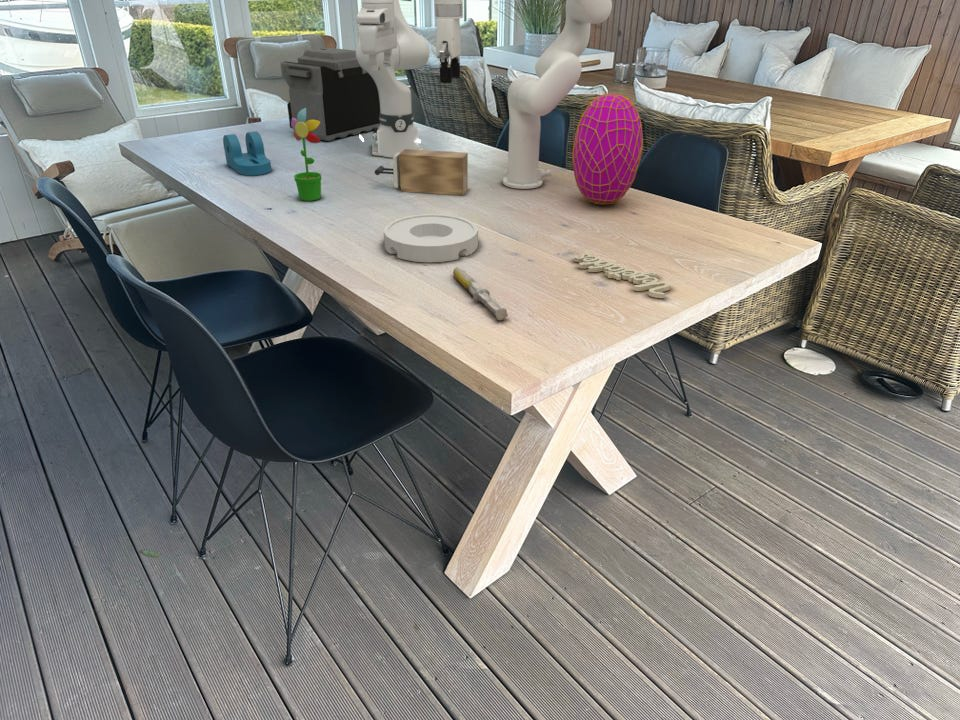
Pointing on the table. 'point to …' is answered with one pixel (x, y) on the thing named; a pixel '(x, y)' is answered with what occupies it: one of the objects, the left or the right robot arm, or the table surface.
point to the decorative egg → (607, 148)
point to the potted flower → (307, 180)
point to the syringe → (479, 293)
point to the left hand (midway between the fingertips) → (381, 68)
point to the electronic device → (332, 92)
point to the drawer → (395, 170)
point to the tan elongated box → (433, 171)
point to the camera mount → (246, 154)
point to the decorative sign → (625, 274)
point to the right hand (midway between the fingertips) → (450, 80)
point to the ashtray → (431, 237)
